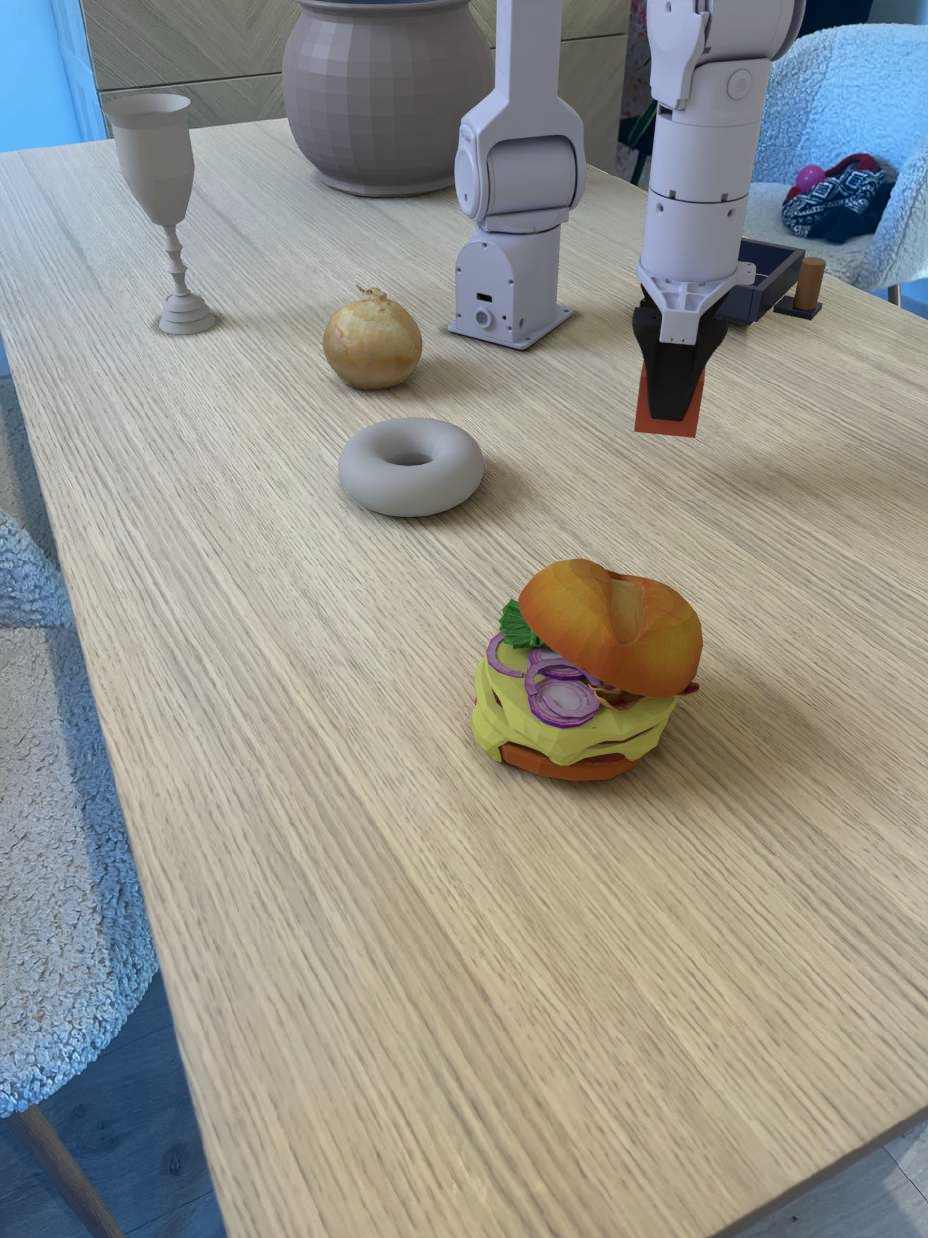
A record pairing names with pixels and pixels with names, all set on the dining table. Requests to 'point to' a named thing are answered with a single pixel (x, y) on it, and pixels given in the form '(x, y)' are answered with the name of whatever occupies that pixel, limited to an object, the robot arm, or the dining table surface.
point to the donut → (410, 491)
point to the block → (665, 426)
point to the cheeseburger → (585, 672)
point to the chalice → (161, 186)
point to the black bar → (643, 303)
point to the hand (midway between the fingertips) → (668, 401)
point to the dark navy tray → (774, 284)
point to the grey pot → (384, 91)
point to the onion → (372, 342)
